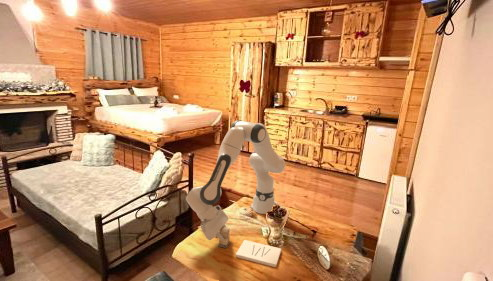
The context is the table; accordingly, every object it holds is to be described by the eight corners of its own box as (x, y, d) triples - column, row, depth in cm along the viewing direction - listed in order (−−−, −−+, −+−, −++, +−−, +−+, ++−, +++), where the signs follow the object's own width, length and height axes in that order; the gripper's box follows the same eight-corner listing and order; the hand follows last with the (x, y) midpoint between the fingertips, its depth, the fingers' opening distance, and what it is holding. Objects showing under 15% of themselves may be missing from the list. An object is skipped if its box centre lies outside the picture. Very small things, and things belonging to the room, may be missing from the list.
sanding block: (221, 241, 137) (222, 226, 135) (229, 243, 135) (230, 228, 134) (218, 246, 132) (218, 230, 131) (226, 248, 131) (226, 232, 129)
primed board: (244, 242, 137) (244, 239, 137) (281, 251, 131) (281, 248, 131) (235, 256, 125) (235, 254, 125) (275, 267, 119) (276, 264, 119)
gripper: (203, 221, 123) (221, 244, 122) (220, 204, 142) (236, 223, 141) (194, 228, 125) (212, 250, 124) (213, 210, 144) (228, 229, 143)
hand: (225, 236), depth 133 cm, fingers closed on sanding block, 4 cm apart
